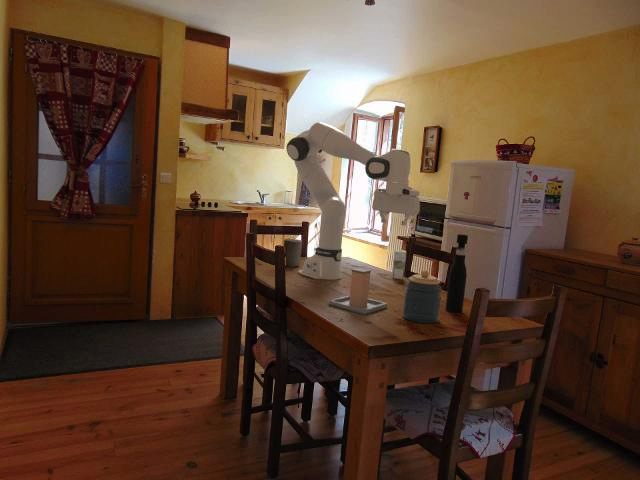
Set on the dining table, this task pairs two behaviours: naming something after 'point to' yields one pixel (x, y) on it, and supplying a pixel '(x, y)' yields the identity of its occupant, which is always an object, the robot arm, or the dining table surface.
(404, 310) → the canister
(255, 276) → the dining table surface
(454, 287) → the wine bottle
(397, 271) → the syrup box
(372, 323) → the dining table surface
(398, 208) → the robot arm
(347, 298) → the tray
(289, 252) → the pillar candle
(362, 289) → the tea tin
